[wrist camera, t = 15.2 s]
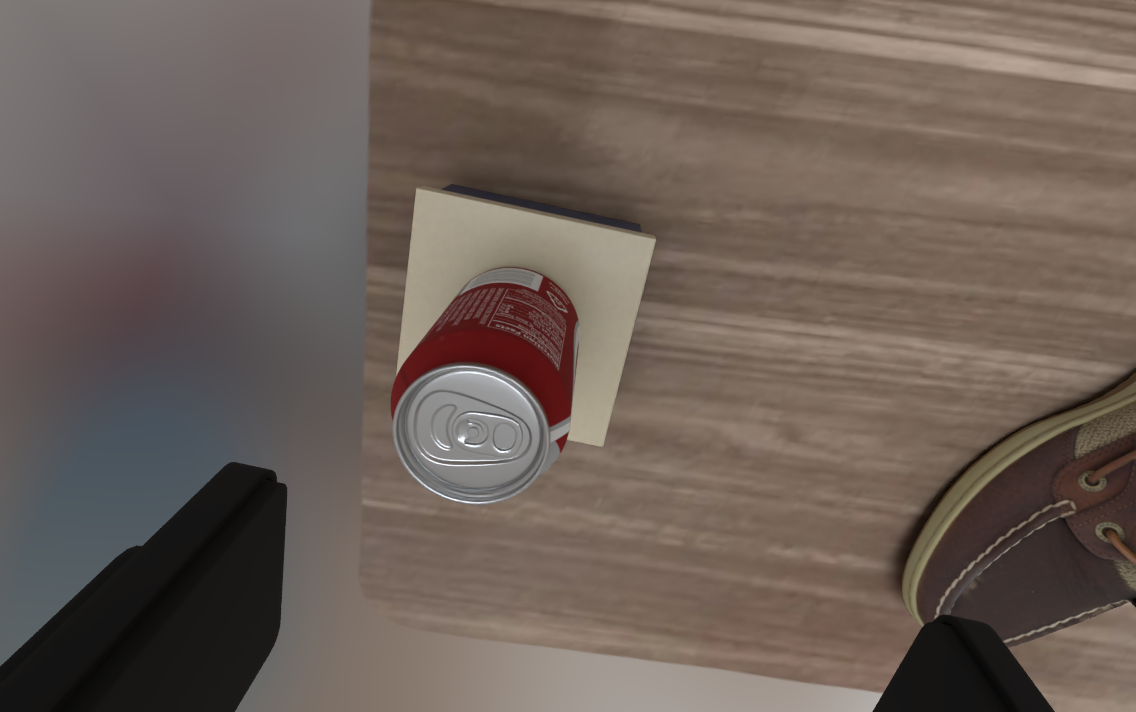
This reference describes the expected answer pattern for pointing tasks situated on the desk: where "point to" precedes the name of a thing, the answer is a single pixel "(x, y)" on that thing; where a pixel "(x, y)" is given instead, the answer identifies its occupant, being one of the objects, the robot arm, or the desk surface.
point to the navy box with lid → (547, 245)
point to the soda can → (489, 388)
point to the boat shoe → (1036, 527)
